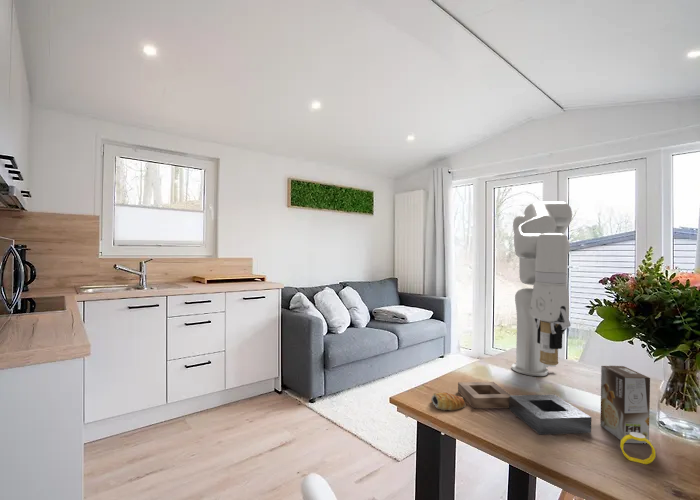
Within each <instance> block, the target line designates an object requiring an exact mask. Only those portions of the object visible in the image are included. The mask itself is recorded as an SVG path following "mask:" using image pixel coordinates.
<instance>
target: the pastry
mask: <svg viewBox="0 0 700 500" xmlns="http://www.w3.org/2000/svg"><path fill="white" fill-rule="evenodd" d="M431 401H432V402H433V403H432V405H433V404H434V405H435V406H434V405H433V406H434V407H435V408H436V409H437V410H440V409H441V410H440V411H445V410H446V411H447V410H448V411H456V410H461V409H463V408H464V407H465V406H466V402H465V401H466V400H465V399H464V397H461V396H459V395H455V394H453V393H448V392H444V391H443V392H437V393H433V395H432V396H431Z"/></svg>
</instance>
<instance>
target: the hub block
mask: <svg viewBox="0 0 700 500" xmlns="http://www.w3.org/2000/svg"><path fill="white" fill-rule="evenodd" d="M508 410H509V411H511V412H512V413H513V414H514V415H515V416H517V417H518V418H519V419H520V420H522V422H524V423H525V424H526V425H527V426H529V428H531V429H532V430H534V431H535V433H537V434H538V435H565V434H567V435H569V434H590V433H592V418H593V417H592V416H590V415H589V414H587V413H585V412H584V411H583V410H581V409H579V408H578V407H576V406H574V405H572V404H570V403H569V402H568V401H566V400H564V399H563V398H561V397H560V396H558V395H556V394H524V395H523V394H522V395H521V394H519V395H518V394H515V395H514V394H513V395H511V394H510V395H509V408H508Z"/></svg>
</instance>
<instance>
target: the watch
mask: <svg viewBox="0 0 700 500" xmlns="http://www.w3.org/2000/svg"><path fill="white" fill-rule="evenodd" d="M628 439H635V440H638V441H645V442H647V443H648V444H647V445H649V446H650V448H651V454H649V457H647V458H645V459H641V458H637V457H632V456H630V455H628V454H627V452H625V450H624V447H625V444H626V443H625V442H626V441H627V440H628ZM619 446H620V449H621V452H622V454H623V457H625V458H626V459H627V460H628V461H630V462H634V463H638V464H643V465H648V464H651V463H652V462H653V461H654V460H655V459H656V454H657V453H656V448H655V447H654V446H653V444H652V442H651V441H650V439H649V440H647V439H646V437H645V436H644V435H643V434H641V433H637V432H630V434H629V435H626V436H624V437H623V438H622V439H621V440H620V444H619Z"/></svg>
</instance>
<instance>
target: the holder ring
mask: <svg viewBox="0 0 700 500" xmlns="http://www.w3.org/2000/svg"><path fill="white" fill-rule="evenodd" d="M457 385H458V386H457V392H458V393H459V394H460V395H461V396H462V398H463V399H464V400H465V401H467V402H468V404H469V405H471V407H472V408H474V409H502V408H503V409H504V408H506V409H507V408H508V409H509V395H511V394H510V393H509V392H508V391H506V390H505V389H504V388H503V387H502V386H500V385H498V384H497V383H496V382H494V381H469V382H468V381H467V382H464V381H463V382H462V381H461V382H458V383H457Z"/></svg>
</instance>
